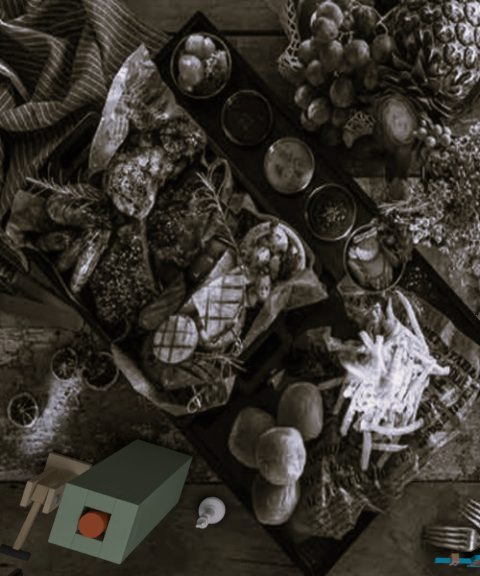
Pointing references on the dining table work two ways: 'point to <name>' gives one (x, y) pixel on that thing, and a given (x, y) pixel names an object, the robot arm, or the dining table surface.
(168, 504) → the button post
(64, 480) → the switch bracket
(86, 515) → the button
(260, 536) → the dining table surface
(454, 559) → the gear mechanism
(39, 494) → the lever
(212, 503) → the chess piece
